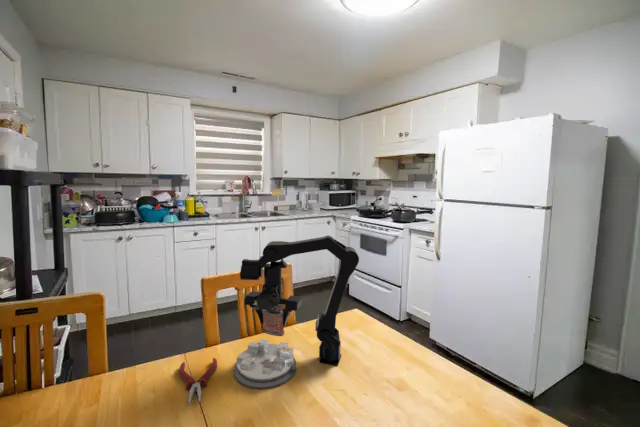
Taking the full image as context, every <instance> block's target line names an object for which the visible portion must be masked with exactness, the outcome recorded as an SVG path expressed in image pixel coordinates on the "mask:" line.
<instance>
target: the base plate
mask: <svg viewBox="0 0 640 427" xmlns="http://www.w3.org/2000/svg"><path fill="white" fill-rule="evenodd" d="M297 365H298V364H297V361H296V358H295V357H294V365H293V368H292V370H291V371H290V372H289V373H288V374H287V375H285V376H284V377H282V378H280V379H277V380H274V381H270V382H253V381H249V380H246V379H244V378H243V377H241V376H240V375H239V373H238V371H237V362H236V363H235V365H234V366H233V376H234V379H235V380H236V381H237V383H238V384H240V385H242V386H243V387H246V388H247V389H248V388H249V389H253V390H268V389H273V388H277V387H279V386H282V385H284V384H287V382H289V381H290V380H291V379H292V378H293V377H294V376H295V375H296V372H297Z"/></svg>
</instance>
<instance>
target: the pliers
mask: <svg viewBox="0 0 640 427" xmlns="http://www.w3.org/2000/svg"><path fill="white" fill-rule="evenodd" d="M185 368H186V362H182V363H181V364H180V365H179V369H178V375H179V377H180V379H181V380H182V381H183V382H184V383H185V391H189V393H188V401H187V402H188V403H187V406H190V405H191V402H192V400H193V398H194V396H195V393H197V394H196V395H197V399H198V400H197V401H198V402H199V404H200V403H201V398H202V389H201V388H206V387H207V385H208V380H209V379H210V378H211V377H212V376H213V375H214V374H215V372H216V371H217V369H218V359H217V358H216V357H213V358H212V364H211V366H210V367H209V368H208V369H207V370H206V371H205V372H204V373H203V374H202V375H201V377H200V378H198V380H197V381H196V380H195V378H193V377H192V376H190V374H189V373H188V372H186V370H185Z"/></svg>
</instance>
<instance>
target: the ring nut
mask: <svg viewBox="0 0 640 427" xmlns="http://www.w3.org/2000/svg"><path fill="white" fill-rule="evenodd" d="M294 358H295V356H294V348H292V347H289V342H283V341H280V343H279V344H275V343H270V341H269V339H264V338H261V339H260V340H259V341H258V342H256V341H250V343H249V344H248V345H247V349H244V351H242V352H240V353H239V355H238V356H237V357H236V363H237V371H238V373H239V375H240V376H241V377H243V378H244V379H246V380H249V381H253V382H270V381H274V380H277V379H280V378H282V377H284V376H285V375H287V374H288V373H289V372H290V371H291V370H292V368H293V365H294Z"/></svg>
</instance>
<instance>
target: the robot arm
mask: <svg viewBox="0 0 640 427" xmlns="http://www.w3.org/2000/svg"><path fill="white" fill-rule="evenodd" d="M324 250H327V251H329V252H330V253H331V254H332V255H333V256H334V257H335V258H337V259H338V266H337V267H338V268H337V273H336V276H335V280H334V282H333V286H332V288H331V292H330V295H329V298H328V301H327V304H326V308H325V309H324V311H323V312H320V311H319V312H318V316H317V319H316V321H315V327H314V328H315V332H316V337H317V339H318V341H320V344H319V346H318V348H319V350H318V353H319V354H318V357H319V361H318V362H319V364H326V365H332V366H339V363H340V361H341V358H342V354H341V348H342V347H341V343H342V342H341V339H340V338H341V336H340V331H339V329H338V328H336V321H337V315H338V312H339V309H340V306H341V302H342V300H343V297H344V293H345V291H346V288H347V284H348V282H349V279H350V277H351V276H352V275H353V273H354V272H355V270H356V268H357V266H358V265H359V263H360V257H359V254H358V253H357V251H356V250H355V248H354V247H351V246H346V244H344V243H342V242H340V241H338V240H336V239H335V238H334V237H333V236H331V235H325V236H321V237H314V238H309V239H308V238H307V239H302V240H296V241H283V240H282V241H281V240H277V241H276V240H274V241H270V242H268V243H267V244H266V246H265V247H264V248H263V250H262V255H261V256H260V257H259V258H258V259H248V258H244V259H242V260H241V266H240V271H239V277H240V278H239V279H240V280H241V281H259V280H260V278H263V284H262V288H261V292H260V291H250V292H249V293H248V294H246V295H245V296H244V298H243V305H245V306H249V307H250V308H251V309H253V310H254V311H255V312H256V314H257V316H258V317H257V318H258V319H259V321H260V324H261V325H263V313H262V310H267V311H270V310H271V309H272V307H274V306H279V305H284V308H283V309H282V311H283V313H284V314H283V327H284V328H285V327H286V325H287V322H288V320H289V318H290V315H291V313H292V312H293V311H294V312H295V311H298V310H299V309H300V307H301V306H302V305H303V299H302V297H301V296H299V295H289V297H287V298H283V296H284V292H282V290H283V288H282V285H283V284H284V280H282V277H283V276H282V269H287V266H288V263H287V262H286V261H285V260H284V259H286V258H288V257H290V256H294V255H299V254H306V253H311V252H318V251H324Z"/></svg>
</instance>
